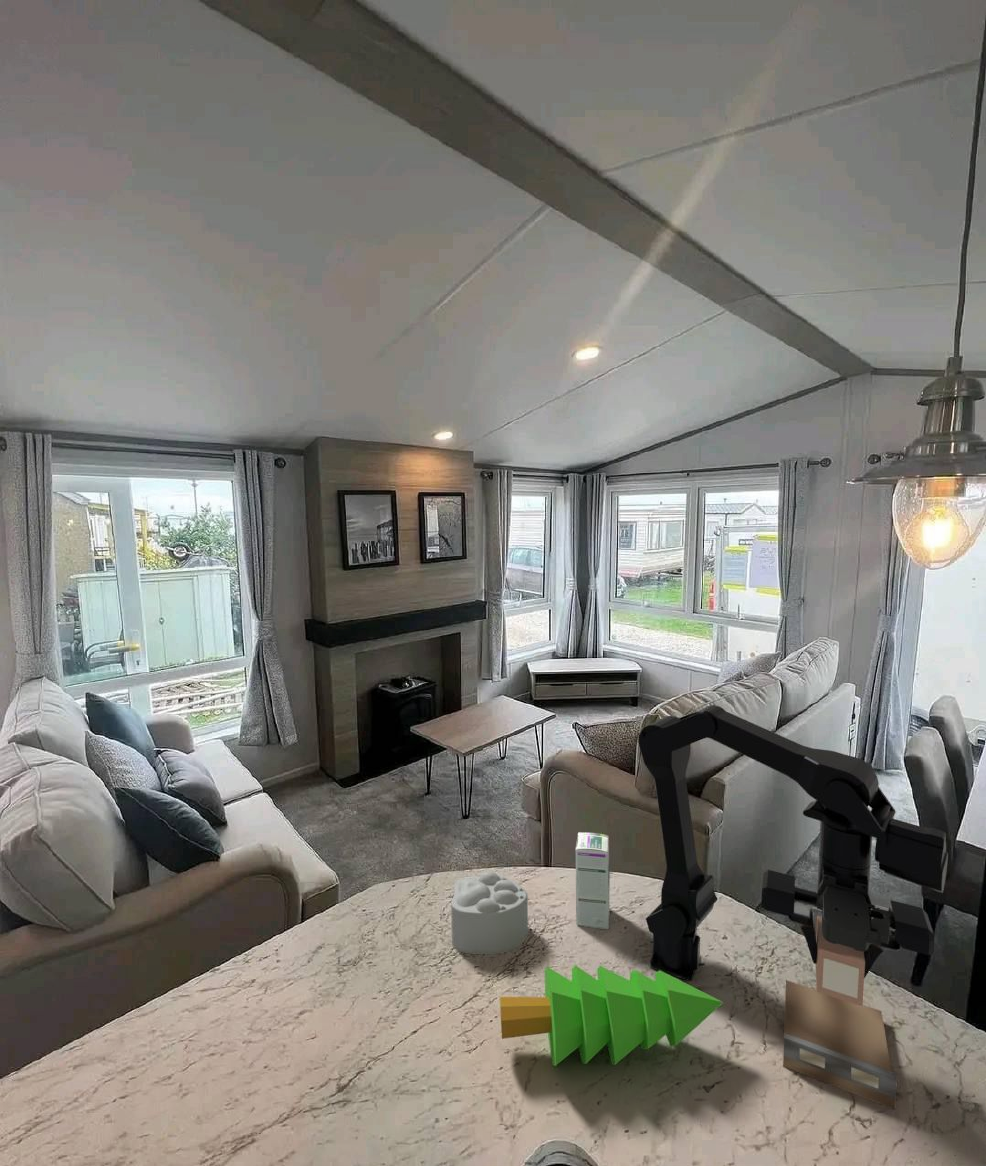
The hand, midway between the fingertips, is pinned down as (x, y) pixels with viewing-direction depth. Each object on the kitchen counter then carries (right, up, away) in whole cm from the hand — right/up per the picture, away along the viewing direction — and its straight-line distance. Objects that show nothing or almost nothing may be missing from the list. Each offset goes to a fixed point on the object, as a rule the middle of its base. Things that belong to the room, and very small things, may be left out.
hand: (838, 968), depth 76 cm
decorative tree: (-30, -12, +1) cm, 32 cm away
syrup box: (-28, -9, +27) cm, 40 cm away
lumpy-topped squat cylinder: (-46, -10, +24) cm, 53 cm away
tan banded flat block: (+1, -11, +2) cm, 12 cm away
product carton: (0, -2, 0) cm, 2 cm away
